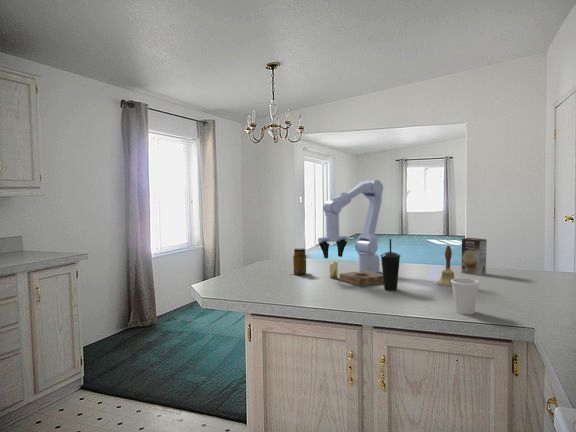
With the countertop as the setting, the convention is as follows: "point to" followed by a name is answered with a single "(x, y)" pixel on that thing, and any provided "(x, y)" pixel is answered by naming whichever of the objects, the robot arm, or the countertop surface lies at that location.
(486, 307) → the countertop surface
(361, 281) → the socket block
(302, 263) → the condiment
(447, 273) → the hand bell
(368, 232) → the robot arm
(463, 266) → the coffee box
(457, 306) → the dixie cup
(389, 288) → the drinking cup
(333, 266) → the pin
